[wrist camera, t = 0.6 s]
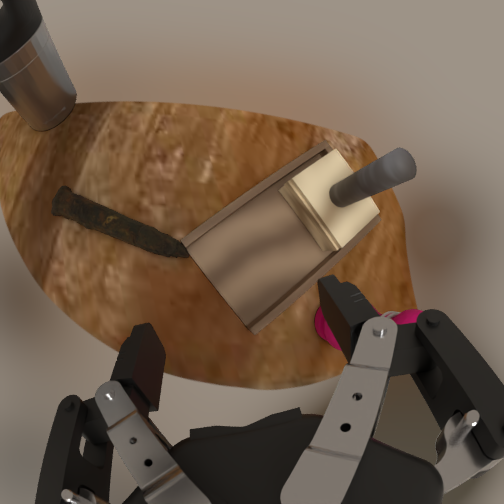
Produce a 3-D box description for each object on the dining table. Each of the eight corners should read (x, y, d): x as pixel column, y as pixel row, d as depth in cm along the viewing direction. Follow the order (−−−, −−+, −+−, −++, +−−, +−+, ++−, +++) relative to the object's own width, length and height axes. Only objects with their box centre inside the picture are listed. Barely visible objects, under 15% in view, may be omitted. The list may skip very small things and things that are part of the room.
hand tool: (58, 216, 31) (43, 209, 26) (71, 190, 31) (57, 179, 27) (179, 277, 34) (178, 278, 30) (192, 247, 35) (193, 244, 30)
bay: (181, 243, 34) (180, 240, 31) (316, 147, 39) (325, 139, 37) (249, 330, 35) (255, 335, 32) (369, 223, 41) (381, 219, 38)
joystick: (276, 191, 36) (342, 133, 20) (319, 161, 38) (392, 103, 21) (321, 252, 37) (411, 238, 20) (359, 218, 39) (448, 190, 22)
